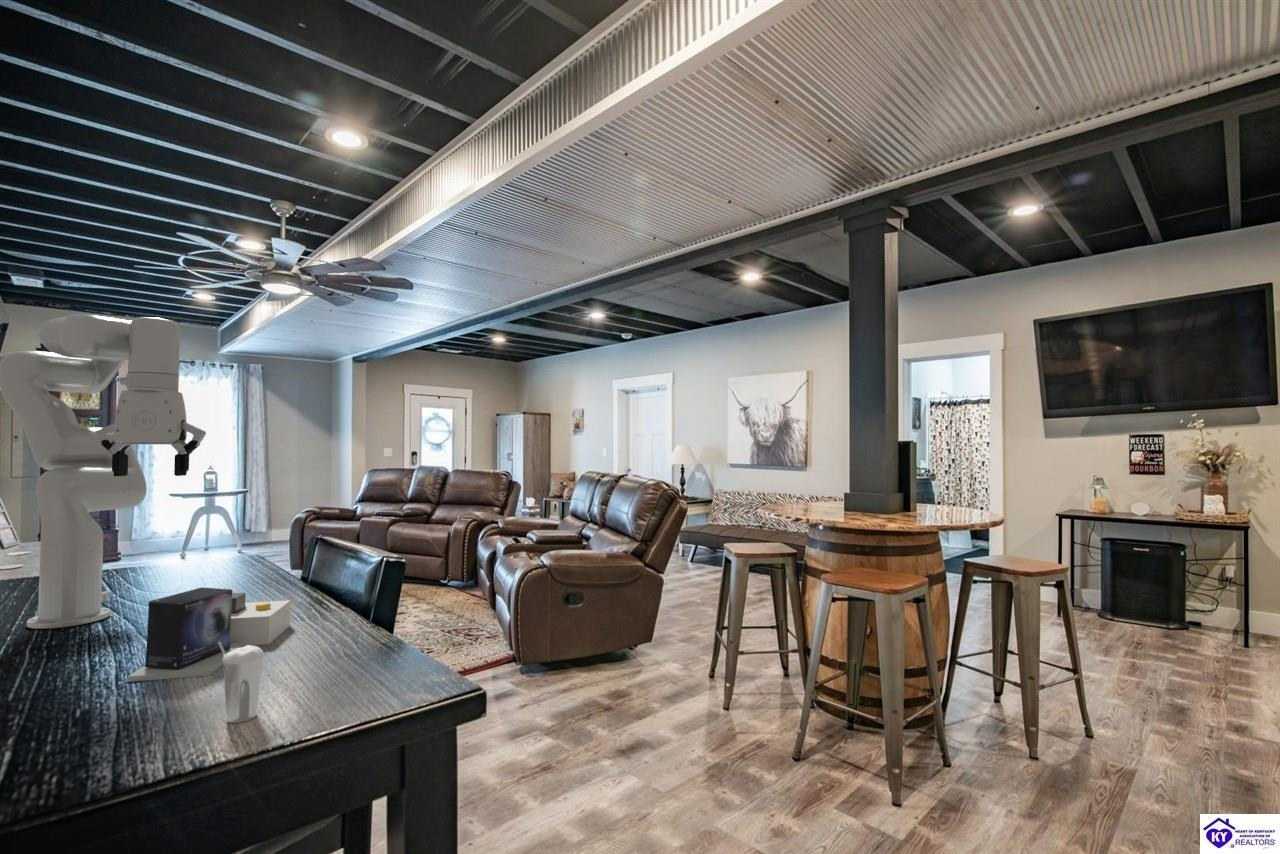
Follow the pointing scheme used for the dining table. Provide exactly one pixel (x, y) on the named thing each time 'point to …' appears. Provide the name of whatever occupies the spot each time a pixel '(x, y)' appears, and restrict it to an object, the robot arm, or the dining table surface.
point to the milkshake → (242, 682)
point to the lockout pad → (193, 670)
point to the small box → (188, 627)
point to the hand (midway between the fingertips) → (150, 475)
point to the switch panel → (260, 622)
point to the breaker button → (238, 602)
